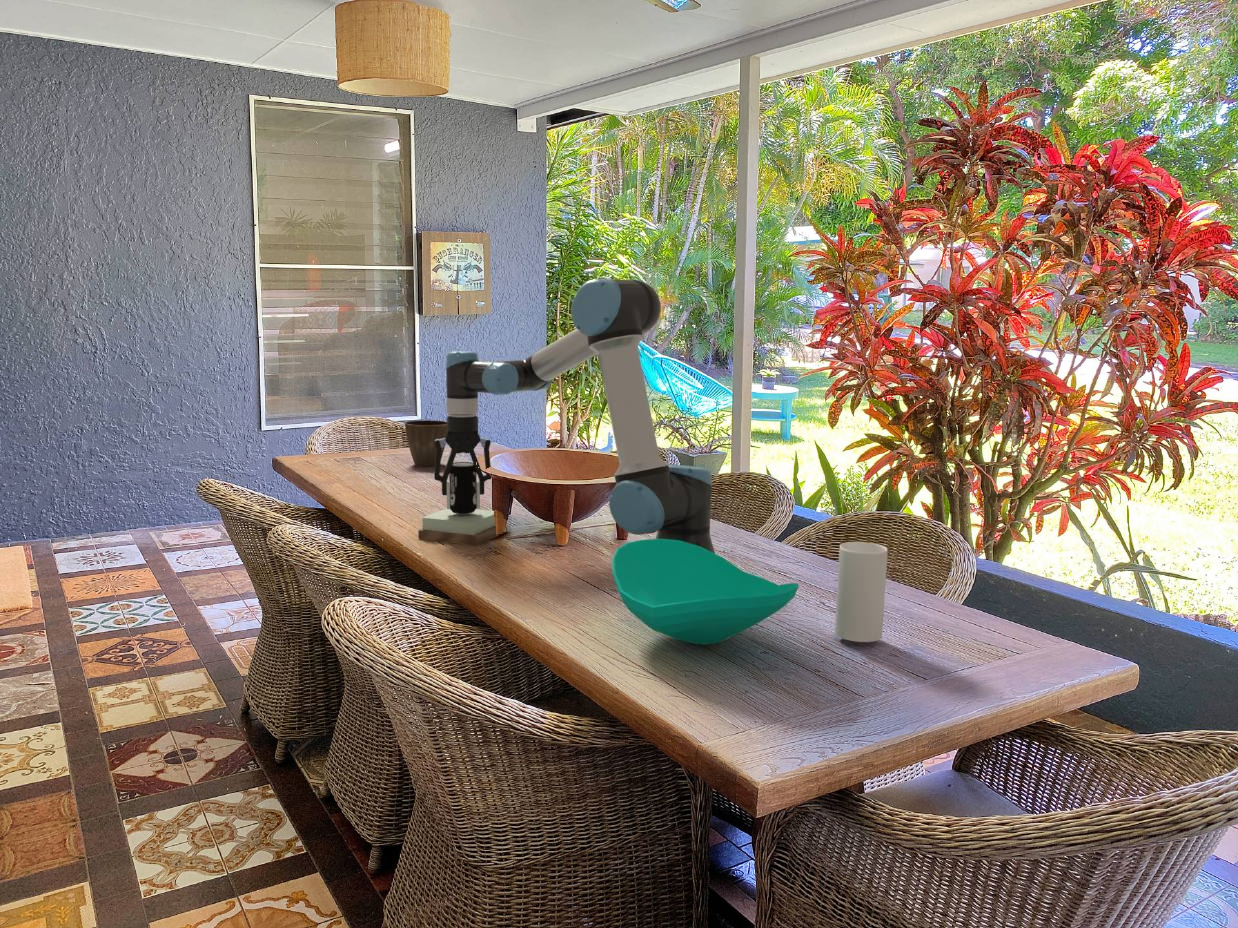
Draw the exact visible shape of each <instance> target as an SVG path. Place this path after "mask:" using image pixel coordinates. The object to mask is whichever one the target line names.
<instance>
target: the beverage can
mask: <svg viewBox="0 0 1238 928" xmlns="http://www.w3.org/2000/svg"><path fill="white" fill-rule="evenodd" d="M448 478H449V481H450V510H451V511H452V512H453V513H458V514H467V513H473V512H474V511H475V510H476V509H477V481H478V480H477V478H478V475H477V472H476V469H475V467H474V464H473V461H454V462H453V464H452V467H451V470H450V473H449V476H448Z"/></svg>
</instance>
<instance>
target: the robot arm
mask: <svg viewBox="0 0 1238 928" xmlns="http://www.w3.org/2000/svg"><path fill="white" fill-rule="evenodd" d="M576 291H577V292H576V294H575V295H574V296H573V300H572V303H571V319H572V323H573V325H574V326H575V329H574V330H572V331H570V332H569V333H567V334H565V335H563V336H561V337H560V338H558V339H556V340H554V341H553V342H552V343H550V344H548V345H546V346H545V347H543V348H541V349H540V350H538V351H536V352H535V353H534V354H531V355H529V356H528V357H527V358H525V359H521V360H519V359H517V360H498V361H488V360H479V357H478V353H477V352H475V351H467V350H465V351H464V350H462V351H461V350H459V351H458V350H457V351H456V350H455V351H449V352H448V353H447V355H446V365H445V366H446V367H445V371H446V373H445V374H446V375H445V376H446V414H447V415H448V416H447V417H446V422H447V435H446V437H445V438H443V439H436V440H435V446H436V449H437V451H436V462H435V467H434V475H433V477H434V480H435V481H438V482H440V483H441V495H442V496H446V509H450V480H448V478H449V473H450V470H451V467H452V464H453V463H454V462H455V458H456V455H457V454H463V453H464V454H469V456H470V457H471V462H472V463H473V464H474V467H475V469H476V472H477V478H478V480H477V509H479V510H481V496H482V495H485V482H486V481H489V480H491V479H492V477H493V476H492V477H491V476H490V475H489V474H487V473H486V472H485V474H483V471H482V468H481V466H480V464H479V463H480V462H479V460H478V458H477V454H476V452H475V449H476V447H477V445H478V444H479V443H480V445H481V447H482V448H483V456H484V464H485V465H484V466H485V470H486V469H487V468H489V467H491V466H492V465H491V458H490V447H491V445H492V444H491V440H490V438H482V437H481V435H480V434H479V417H478V416H477V414H478V413H479V393H484V394H492V395H496V396H500V395H501V396H502V395H509V394H511V393H515V392H530V391H532V392H534V391H535V392H537V391H539V390H544V389H546V388H548V387H549V386H551V384H552V382H553V380H554V379H555V378H557V377H559V376H561V375H563V374H565V373H566V372H567V371H569V370H571V369H573V368H575V367H577V366H579V365H580V364H583V362H586V361H588V360H590V359H591V358H593V357H595V356H597V357H598V358H597V359H598V361H599V367H600V372H601V376H602V382H603V388H604V392H605V396H606V397H605V398H606V403H607V408H608V412H609V417H610V423H611V428H612V432H613V438H614V442H615V447H616V452H617V457H618V463H619V466H618V467H617V469H616V471H615V473H614V480H615V486H614V487H613V488H612V490H611V494H610V495H609V498H608V505H609V511H610V513H611V517H612V518H613V520H614V521H615V523H616V524H617V525H618V526H619V528H621V529H623V530H624V531H625V532H626V533H628V534H631V535H635V536H637V535H638V536H641V535H642V536H643V535H648V534H654V533H657V534H656V536H655V539H669V540H679V541H683V542H686V543H690V544H693V545H696V546H700V547H702V548H704V549H706V550H708V551H710V552H712V553H715V554H716V551H715V548H714V545H713V544H714V543H713V542H712V538H711V510H712V488H713V484H712V473H711V471H710V470H709V469H708V468H705V467H701V466H700V467H699V466H693V465H683V464H672V463H667V462H666V461H665V460H663V459H662V457H660V453H659V452H660V451H659V448H658V447H659V446H658V443H657V437H656V432H655V428H654V423H653V422H654V421H653V418H652V412H651V407H650V402H649V398H648V392H647V386H646V381H645V377H644V373H643V372H644V371H643V367H642V361H641V356H640V353H639V344H640V343H641V341H642V340H643V338H644V336H643V335H644V334H646V333H647V332H649V331H650V330H652V329H653V328H654V327H655V325H656V324H657V322H658V320H659V319H660V316H661V309H662V307H661V306H662V305H661V300H660V298H659V295H658V293H657V291H656V290H655V289H654V288H653V287H652V286H651V285H650V284H649V283H646V282H645V281H641V280H637V279H619V278H617V279H616V278H610V277H602V278H595V279H590V280H587V281H586V282H584V283H583V284H582V285H581V286H580V287H579V288H578V289H577V290H576ZM445 442H446V444H447V445H448V446H449V448H450V449H451V450H450V453H449V456H448V460H447V462H446V465H445V469H444V470H443V474H442V475H441V474H440V473H441V461H442V458H441V452H442V449H441V448H443V447H444V443H445ZM476 462H477V465H476ZM478 467H479V468H478ZM491 468H492V467H491Z"/></svg>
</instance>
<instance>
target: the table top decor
mask: <svg viewBox="0 0 1238 928" xmlns="http://www.w3.org/2000/svg"><path fill="white" fill-rule="evenodd" d="M611 563H612V576H613V579H614V583H615V586H616V588H617V591H618V593H619V596H620V598H621V602H622V603H623V604H624V605H625V607H626V608H627V610H628V611H629V612H630V613H631V614H632V615H634V616H635V617H636V618H637V619H638V620H640V621H641V622H642V623H643V624H645V625H646V626H648V628H650V630H652V631H655V632H657V633H659V634H661V635H664V636H667V637H670V638H672V639H674V640H676V641H677V640H678V641H681V642H687V643H691V644H695V645H696V644H697V645H712V644H718V643H722V642H725V641H726V640H728V639H730V638H732V637H734V636H736V635H738V634H740V633H742V632H744V631H746V630H748V629H750V628H752V627H753V626H755V625H757V624H759V623H761V622H763V621H764V620H766V619H767V618H768V617H771V616H772V615H773V614H775V613H777V612H779V611H780V610H782V609H783V608H784V607H785V606H787V604H788V603H789V602H791V601H792V600H793V599H794V598H795V597H796V593H797V591H798V589H799V584H798V583H799V582H791V583H784V584H783V583H782V584H777V583H774V581H773V582H772V581H770V580H768V579H765V578H763V577H760V576H758V575H755V574H753V573H749V572H746V571H743V569H741V568H739V567H737V566H736V565H735V564H733V563H732V562H731V561H729V560H727V559H725V557H722V556H720V555H718V554H717V553H716V552H715V553H712V552H710V551H708V550H706V549H704V548H702V547H700V546H696V545H693V544H690V543H686V542H683V541H679V540H669V539H656V538H649V539H647V538H646V539H638V540H634V541H629V542H627V543H625V544H623V545H621V546H620V547H617V548H616V550H615V553H614V555H613V557H612V560H611Z"/></svg>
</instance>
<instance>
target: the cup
mask: <svg viewBox="0 0 1238 928" xmlns="http://www.w3.org/2000/svg"><path fill="white" fill-rule="evenodd" d="M838 554H839V555H838V571H837V572H838V574H837V585H836V586H837V590H836V608H835V621H834V622H835V623H834V625H835V626H834V633H835V635H836V636H837V637H839V638H840V639H843V640H847V641H850V642H856V643H857V642H858V643H872V642H877V641H879V640H881V639H883V629H884V628H883V627H884V616H885V615H884V612H885V599H886V598H885V597H886V584H887V583H886V582H887V581H886V580H887V569H888V567H887V566H888V548H887V547H886V546H885V545H881V544H877V543H873V542H866V541H847V542H843V543H841V544H840V545H839V552H838Z"/></svg>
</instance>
